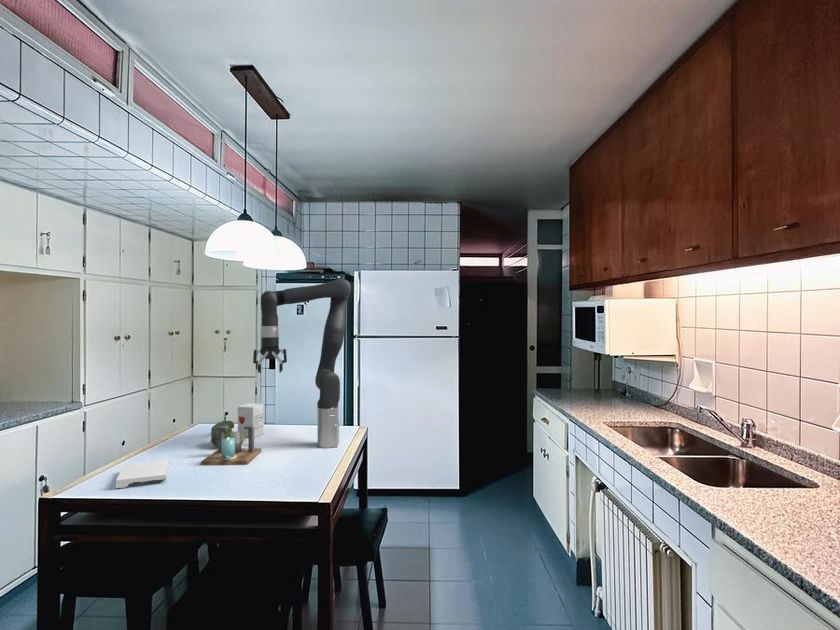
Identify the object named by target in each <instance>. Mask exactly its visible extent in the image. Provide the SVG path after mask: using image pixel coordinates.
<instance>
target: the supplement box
mask: <svg viewBox="0 0 840 630" xmlns="http://www.w3.org/2000/svg"><path fill="white" fill-rule="evenodd" d="M264 405H265V404H264V403H255V402H254V403H250V402H248V403H245V404H240V405H237V432H241V435H243V436H244V438H247V439H248V429H244V427H245V426H254V438H257V437H259V436H261V435H263V434H264V431H265V429H264V419H265V418H264V417H265V415H264V410H265V409H264ZM264 435H265V434H264Z"/></svg>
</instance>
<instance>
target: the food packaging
mask: <svg viewBox="0 0 840 630" xmlns="http://www.w3.org/2000/svg"><path fill="white" fill-rule="evenodd" d="M169 462H170V461H169V460H165V461H155V462H146V463H145V462H144V463H138V464H137V463H136V464H128V465H123V467H122V468H121V470H120V472H119V473H118V475H117V478H116V480H115V489H123V488H127V487H128V486H129V485H131V484H133V485H141V484H140V483H143V484H146V483H153V482H154V483H156V482H157V481H158V482H162V481H163V480H165V479H166V480H167V477H168V473H169V467H170V466H169V464H170V463H169ZM161 480H162V481H161Z"/></svg>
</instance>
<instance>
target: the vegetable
mask: <svg viewBox="0 0 840 630" xmlns="http://www.w3.org/2000/svg"><path fill="white" fill-rule="evenodd" d="M220 426H228V429H224V438H227V437H229V438H231V433H232V432H234V431H233V429H234V428H235V422H234V421H232V420H222V421H219V422H217V423H215V424H214V425H213V426H212V427H211V431H210V434H211V435H210V443H211V444H212V445H213V446H215V447H218V427H220ZM244 441H245V437H244V436H243V435H241V445H242V444H243V443H244Z"/></svg>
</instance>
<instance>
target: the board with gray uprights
mask: <svg viewBox="0 0 840 630" xmlns="http://www.w3.org/2000/svg"><path fill="white" fill-rule="evenodd" d="M224 429H228V426H220V427H218V446H217V450H215V451H214V452H213V453H211V454H210V455H208V456H206V457H205V458H204V459H203V460H201V462H200V465H201V466H232V465H233V466H234V465H235V466H240V465H241V466H245V465H249V464H250V463H251V462H252V461H254V459H255V458H257V457H258V456H259V455H260V454H261V453H262V447H257V448H255V437H254V426H245V427H244V429H248V438H247V439H248V440H247V441H248V442H247V447H248V448H242V444H241V432H238V431H233V432H232V433H231V438H235V457H232V458H230V460H226V458H222V450H221V440H222V439H224Z"/></svg>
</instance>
